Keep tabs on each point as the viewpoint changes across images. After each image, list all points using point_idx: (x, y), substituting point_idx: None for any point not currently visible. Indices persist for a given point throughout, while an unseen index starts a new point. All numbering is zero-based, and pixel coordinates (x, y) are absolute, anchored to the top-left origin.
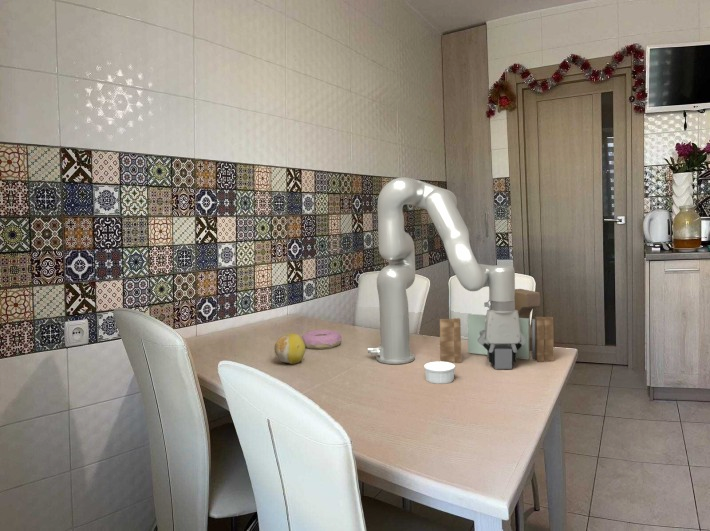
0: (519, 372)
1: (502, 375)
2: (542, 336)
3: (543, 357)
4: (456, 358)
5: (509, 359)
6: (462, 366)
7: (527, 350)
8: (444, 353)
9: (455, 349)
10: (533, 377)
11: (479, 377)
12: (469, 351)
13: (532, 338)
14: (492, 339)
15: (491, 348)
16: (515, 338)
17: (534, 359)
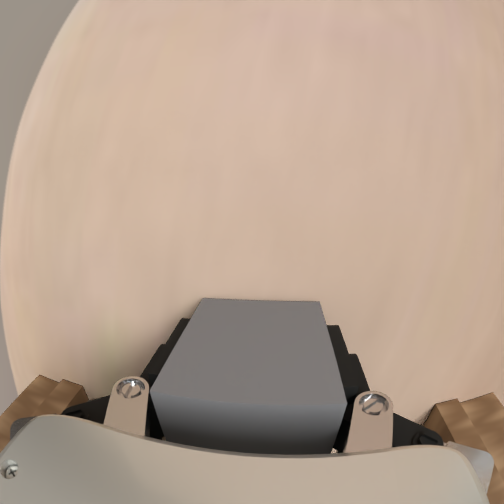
0: (166, 234)
1: (299, 169)
2: None
3: (54, 390)
4: (460, 413)
5: (203, 333)
6: (456, 358)
7: None
8: (499, 420)
9: (479, 442)
10: (109, 128)
11: (447, 148)
12: None
13: None
14: (426, 493)
15: (374, 423)
16: (44, 461)
17: (89, 400)
